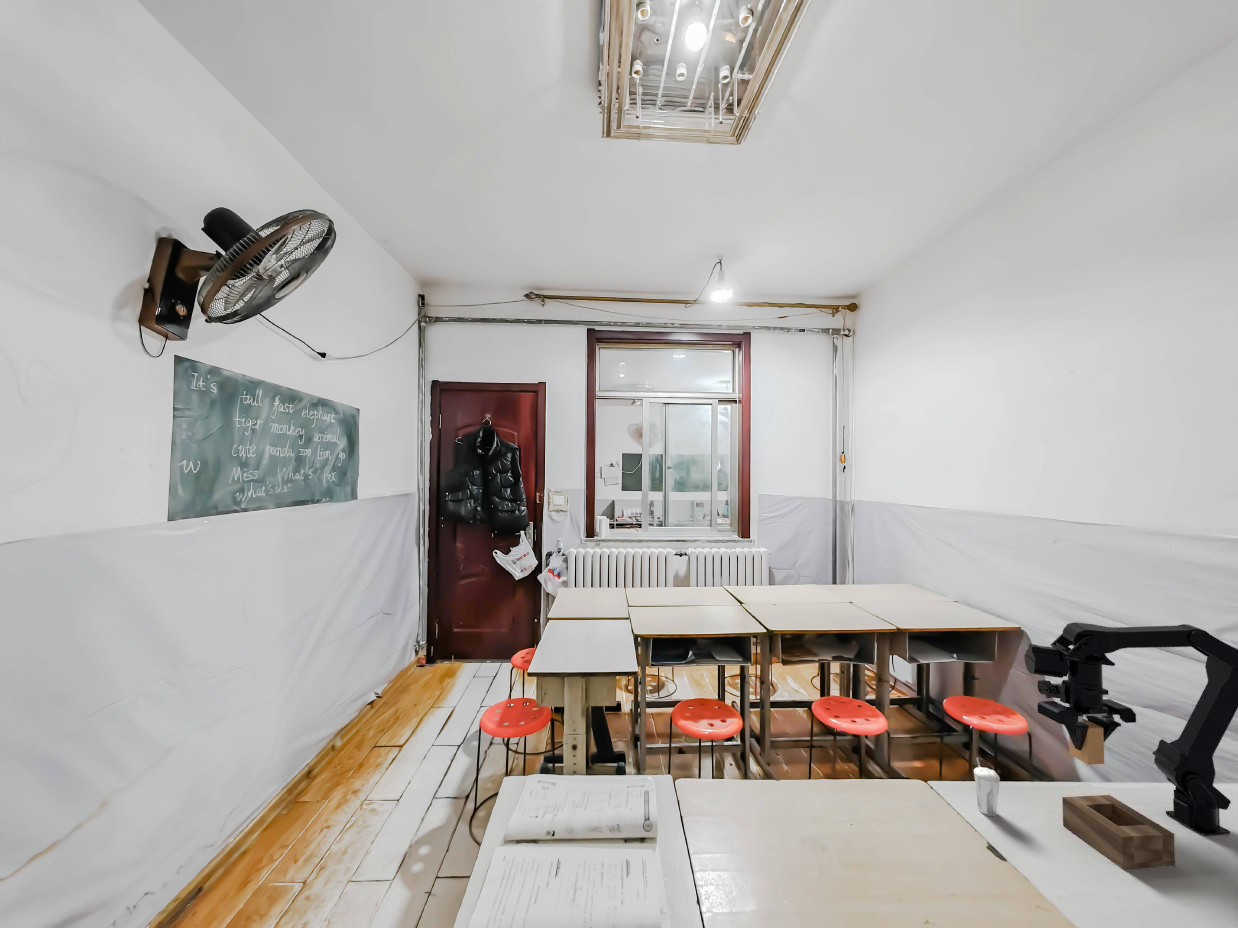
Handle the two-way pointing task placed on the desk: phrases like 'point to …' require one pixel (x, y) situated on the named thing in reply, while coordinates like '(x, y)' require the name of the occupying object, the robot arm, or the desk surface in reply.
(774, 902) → the desk surface
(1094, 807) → the socket
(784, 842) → the desk surface
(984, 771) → the milkshake
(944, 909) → the desk surface
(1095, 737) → the peg
